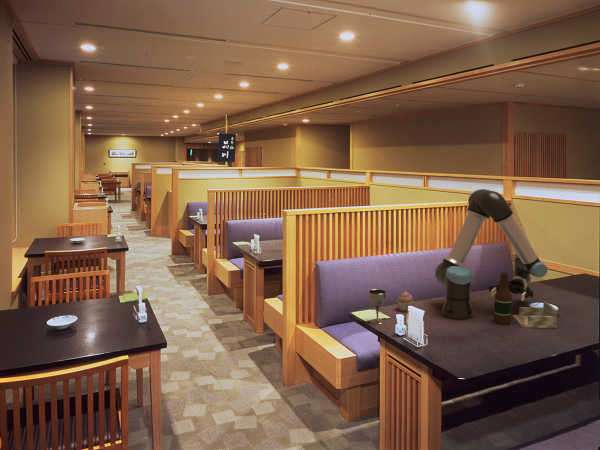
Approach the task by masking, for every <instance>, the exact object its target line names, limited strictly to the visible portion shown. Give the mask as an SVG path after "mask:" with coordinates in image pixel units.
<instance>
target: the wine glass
mask: <svg viewBox="0 0 600 450" xmlns="http://www.w3.org/2000/svg"><path fill="white" fill-rule="evenodd" d="M386 294H387V292H386V290H384V289H379V288H377V289H376V288H374V289H370V290H368V297H369V302H370V304H371V305H372V306H373V307H374V309H375V313H376V318H372V319H370V320H369V322H370V323H371V324H374V325H382V324H384V323H385V322H386V321H385V320H384V319H382V318H379V311H380V309H381V308H382V306H383V305H385V302H386V299H387V298H386V297H387V295H386Z"/></svg>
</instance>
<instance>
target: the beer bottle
mask: <svg viewBox="0 0 600 450" xmlns="http://www.w3.org/2000/svg"><path fill="white" fill-rule="evenodd" d="M499 275H500V280H499V284H500V287H499V290H498V291H497V292H496V293H495V294H494V305H493V307H494V308H493V309H494V310H493V312H494V313H493V322H495V323H497V324H498V325H499V324H500V325H510V324H511V322H512V317H513V314H512V312H513V294H512V292H510V291H509V288H508V283H509V272H506V271H505V272H504V271H502V272H500V274H499Z"/></svg>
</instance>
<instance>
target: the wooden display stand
mask: <svg viewBox="0 0 600 450" xmlns="http://www.w3.org/2000/svg"><path fill="white" fill-rule="evenodd" d="M518 311H519V312H518V314H512V318H513V319H514V321H515V322H516V323H517V324H518V325H519V326H520V327H521V328H528V329H529V328H533V329H535V328H536V329H538V328H540V329H541V328H542V329H557V328H558V325H557V324H558V310H557V308H555V307H554V306H552V305H551V304H550V303H549V302H547V301H543V304H542V307H536V306H534V307H532V306H530V307H529V306H527V307H525V306H520V307H519V309H518Z"/></svg>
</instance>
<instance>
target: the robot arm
mask: <svg viewBox="0 0 600 450" xmlns="http://www.w3.org/2000/svg"><path fill="white" fill-rule="evenodd" d="M467 203H468V206H467V209H466V213H467V216H466V218H465V220H464V223H463V224H462V227H461V228H460V230H459V233H458V235H457V237H456V239H455V242H454V244H453V246H452V248H451V249H450V252H449V254H448V256H445V257H443V260H442V262H440V263H439V264H437V266H436V267H435V269H434V270H435V271H434V277H435V279H436V280H437V282H438V283H439V284H440V285H441V286H443V287H444V288H445V299H444V303H443V305H442V308H441V315H442V316H444V317H446V318H449V319H453V320H469V319H470V320H471V319H473V317H474V307H473V305H472V302H471V301H472V300H471V289H472V273H471V270H470V269H468V268H467V267H466V265H465V262H466V260H467V259H468V256H469V254H470V252H471V250H472V247H473V245H474V244H475V241H476V239H477V237H478V234H479V233H480V231H481V229H482V227H483V224H484V222H485V221H488V220H490V218H491V219H492V220H493V223H496V224H498V226H499V227H500V229H501V230H502V232H503V234H504V235H505V237H506V239H507V240H508V242H509V244H510V245H511V247H512V249H513V250H514V251H515V253H514V266H513V267H514V271H513V277H512V279H510V280H509V281H508V288H509V291H510V292H511V294H515V295H518V294H519V295H521V298H520V299H521V300H520V301H522V302H524V301H525V299H528V298H529V297H530V298H532V299H533V298H534V294H535V293H534V291H533V290H532V289H531V288H530V287H529V286H530V283H531V281H532V277H536V278H543V277H545V276H546V275H547V274H548V266H547V265H546V264H545V263H544V262H542V261H541V260H540V257H538V255H537V253H536V252H535V250H534V249H533V247H532V245H531V244H530V242H529V240H528V239H527V237H526V236H525V234H524V233H523V230H522V229H521V227H520V225H519V224H518V223H517V221H516V219H515V218H514V216H513V214H514V212H513V210H512V208H511V206H510V205H509V203H508V202H507V200H506V199H505V198H504V196H503V195H502V194H500V192H497V191H495V190H489V189H485V188H482V189H481V188H480V189H476V190H474V191H473V192H472V193H471V194H470V195H469V196H468V201H467ZM531 276H532V277H531ZM499 287H500V283H497V284H493V285H489V287H488V290H489V292H490V296H491V297H494V296H495V295H496V293H497V291H498V290H499Z"/></svg>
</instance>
